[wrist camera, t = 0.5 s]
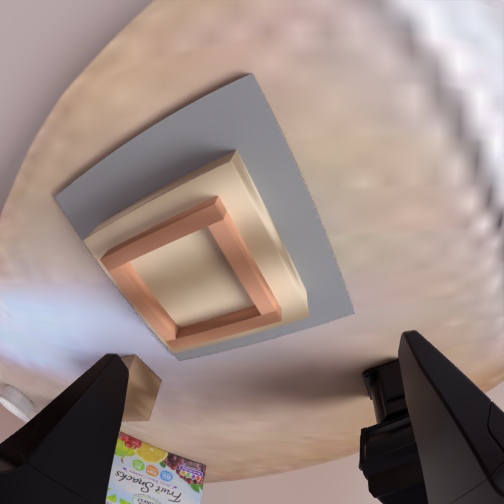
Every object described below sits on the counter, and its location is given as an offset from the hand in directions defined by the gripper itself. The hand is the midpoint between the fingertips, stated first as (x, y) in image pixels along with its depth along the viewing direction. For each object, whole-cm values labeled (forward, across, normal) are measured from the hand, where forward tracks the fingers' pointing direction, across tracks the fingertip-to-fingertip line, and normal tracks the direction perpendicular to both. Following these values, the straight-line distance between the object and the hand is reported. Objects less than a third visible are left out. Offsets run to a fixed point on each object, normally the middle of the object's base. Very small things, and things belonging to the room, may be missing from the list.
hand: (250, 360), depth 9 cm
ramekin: (+14, +61, +34) cm, 71 cm away
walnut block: (+14, +19, +19) cm, 31 cm away
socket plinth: (+13, +6, +4) cm, 15 cm away
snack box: (+15, +30, +46) cm, 57 cm away
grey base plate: (+14, +6, +4) cm, 16 cm away
